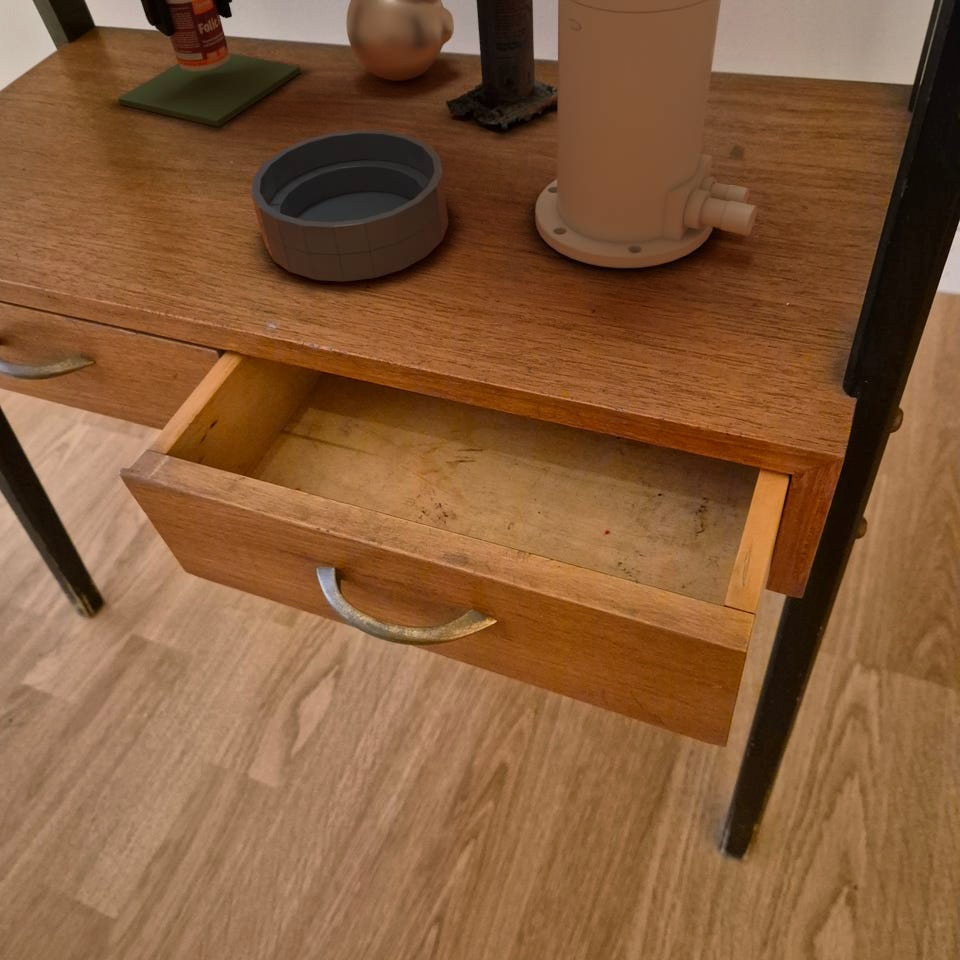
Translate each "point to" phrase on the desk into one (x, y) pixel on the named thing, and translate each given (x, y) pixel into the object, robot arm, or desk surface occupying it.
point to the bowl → (351, 204)
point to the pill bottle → (198, 35)
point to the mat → (210, 89)
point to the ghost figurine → (398, 35)
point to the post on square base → (505, 67)
